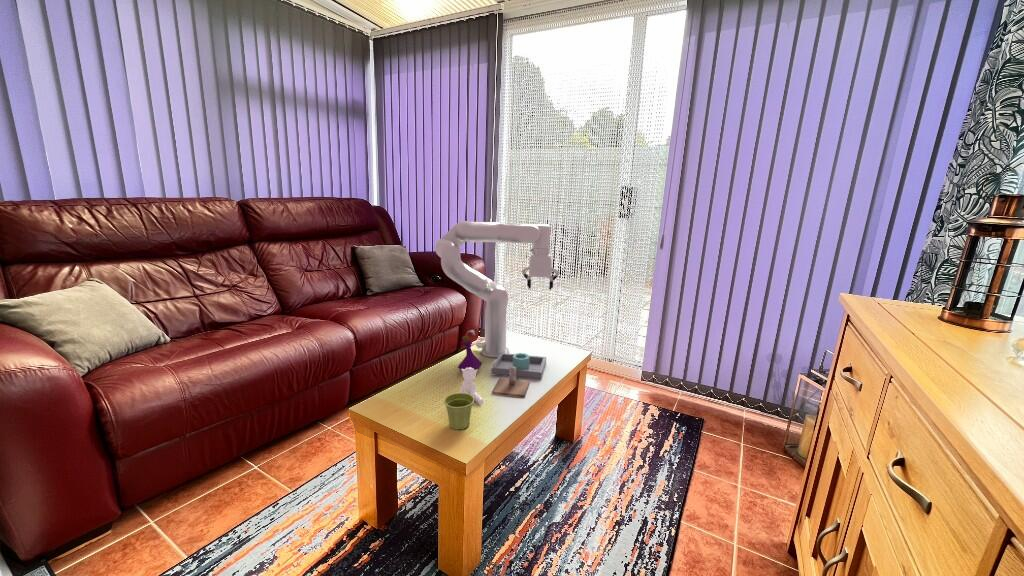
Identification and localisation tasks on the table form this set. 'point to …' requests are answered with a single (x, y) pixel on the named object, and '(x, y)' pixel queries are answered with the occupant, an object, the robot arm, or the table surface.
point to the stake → (511, 385)
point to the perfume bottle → (469, 355)
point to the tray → (534, 371)
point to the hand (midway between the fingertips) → (540, 288)
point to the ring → (521, 361)
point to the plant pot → (459, 409)
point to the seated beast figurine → (470, 384)
